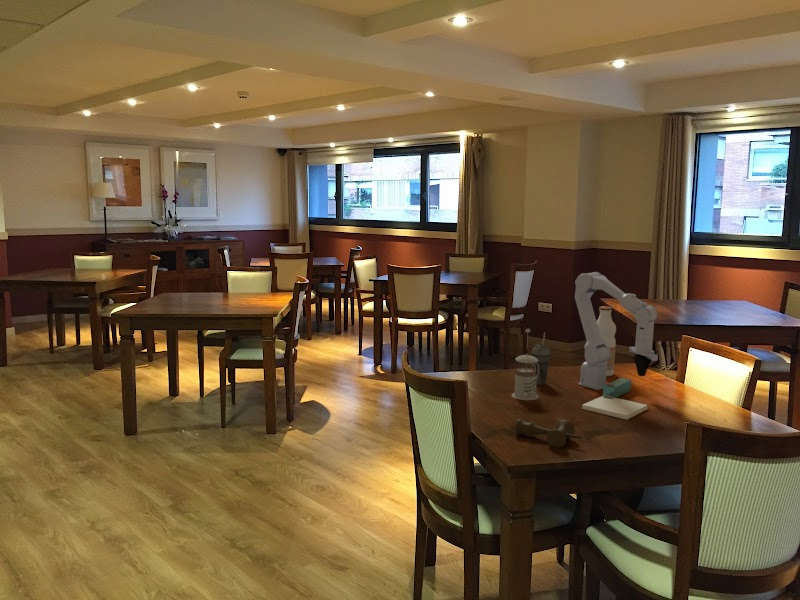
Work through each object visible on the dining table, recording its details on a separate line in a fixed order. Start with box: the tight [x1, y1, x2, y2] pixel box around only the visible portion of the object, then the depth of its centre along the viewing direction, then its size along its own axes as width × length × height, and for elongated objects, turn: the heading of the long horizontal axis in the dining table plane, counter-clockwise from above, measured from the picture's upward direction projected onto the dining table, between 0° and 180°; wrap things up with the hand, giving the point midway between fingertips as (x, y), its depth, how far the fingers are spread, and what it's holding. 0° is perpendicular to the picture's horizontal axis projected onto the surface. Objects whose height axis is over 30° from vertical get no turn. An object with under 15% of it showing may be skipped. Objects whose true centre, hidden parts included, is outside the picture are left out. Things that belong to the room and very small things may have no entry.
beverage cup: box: [531, 332, 551, 386], centre depth 259 cm, size 7×7×20 cm
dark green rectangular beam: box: [602, 377, 632, 398], centre depth 245 cm, size 16×4×5 cm, turn 139°
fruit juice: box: [596, 305, 617, 377], centre depth 274 cm, size 9×9×28 cm
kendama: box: [514, 418, 583, 449], centre depth 197 cm, size 6×10×20 cm
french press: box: [511, 328, 539, 401], centre depth 241 cm, size 10×12×25 cm
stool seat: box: [581, 395, 648, 420], centre depth 228 cm, size 16×16×2 cm
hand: (641, 375), depth 242 cm, fingers closed
